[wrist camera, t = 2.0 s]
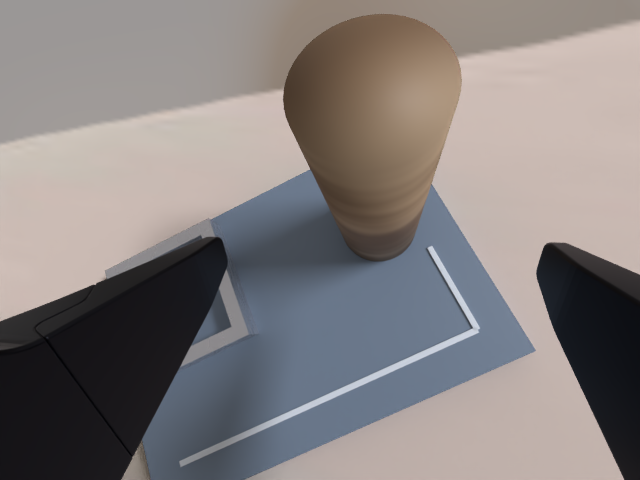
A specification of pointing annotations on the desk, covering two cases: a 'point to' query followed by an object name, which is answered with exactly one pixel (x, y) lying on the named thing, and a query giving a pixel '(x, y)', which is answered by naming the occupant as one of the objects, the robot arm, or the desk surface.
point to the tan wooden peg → (374, 124)
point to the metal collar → (228, 288)
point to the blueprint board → (327, 337)
